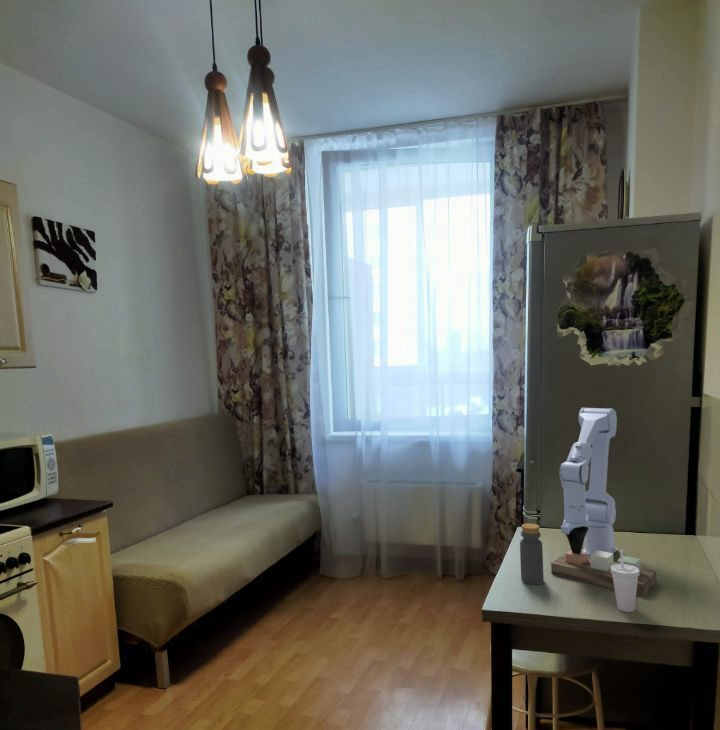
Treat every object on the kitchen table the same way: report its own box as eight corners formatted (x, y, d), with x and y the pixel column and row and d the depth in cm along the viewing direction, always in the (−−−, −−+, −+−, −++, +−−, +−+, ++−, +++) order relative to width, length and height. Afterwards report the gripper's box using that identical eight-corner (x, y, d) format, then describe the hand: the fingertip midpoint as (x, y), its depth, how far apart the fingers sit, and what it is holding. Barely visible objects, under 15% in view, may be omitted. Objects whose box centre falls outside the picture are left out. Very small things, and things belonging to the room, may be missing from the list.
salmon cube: (572, 562, 163) (572, 548, 163) (588, 566, 160) (587, 552, 160) (566, 567, 160) (565, 553, 160) (581, 571, 157) (581, 556, 157)
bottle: (533, 586, 151) (531, 530, 151) (516, 579, 156) (514, 525, 156) (548, 581, 154) (546, 526, 154) (530, 574, 159) (529, 521, 159)
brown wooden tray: (568, 562, 167) (567, 551, 167) (656, 582, 151) (656, 570, 151) (551, 573, 159) (551, 562, 159) (643, 596, 143) (642, 584, 143)
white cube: (597, 564, 158) (596, 550, 158) (613, 568, 155) (613, 553, 155) (591, 569, 155) (590, 554, 155) (607, 573, 152) (607, 558, 152)
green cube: (623, 570, 153) (623, 555, 153) (641, 574, 150) (640, 559, 150) (617, 575, 150) (617, 560, 150) (635, 579, 147) (635, 563, 147)
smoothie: (615, 600, 141) (613, 544, 141) (643, 606, 137) (642, 549, 137) (608, 610, 136) (606, 551, 136) (637, 617, 132) (635, 557, 132)
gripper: (578, 513, 151) (580, 563, 152) (599, 501, 162) (600, 548, 162) (553, 508, 156) (554, 558, 156) (574, 497, 167) (576, 543, 167)
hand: (576, 552), depth 160 cm, fingers closed, pressing on salmon cube
